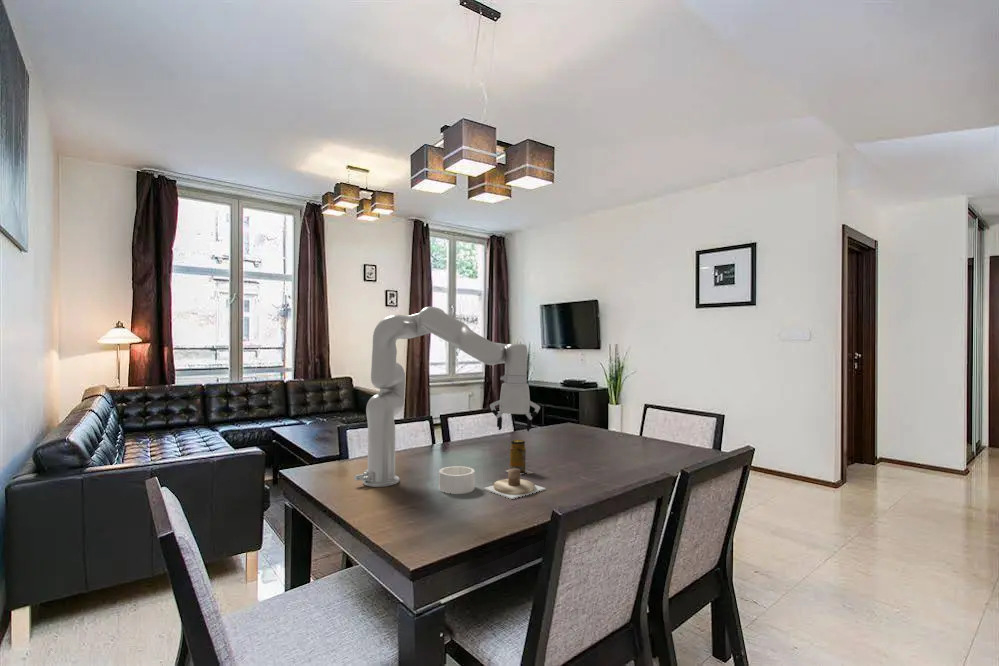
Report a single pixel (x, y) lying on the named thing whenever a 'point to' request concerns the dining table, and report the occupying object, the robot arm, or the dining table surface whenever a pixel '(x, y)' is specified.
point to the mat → (513, 496)
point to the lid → (514, 484)
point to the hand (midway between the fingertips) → (514, 430)
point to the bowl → (456, 480)
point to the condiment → (518, 455)
